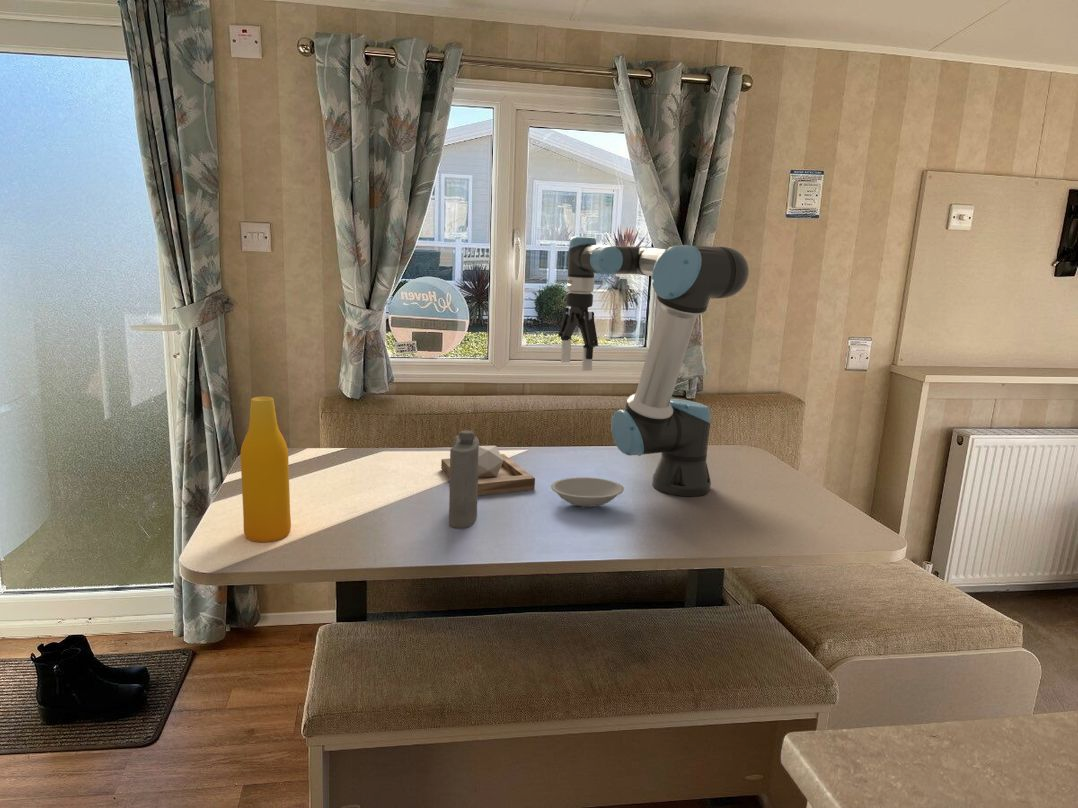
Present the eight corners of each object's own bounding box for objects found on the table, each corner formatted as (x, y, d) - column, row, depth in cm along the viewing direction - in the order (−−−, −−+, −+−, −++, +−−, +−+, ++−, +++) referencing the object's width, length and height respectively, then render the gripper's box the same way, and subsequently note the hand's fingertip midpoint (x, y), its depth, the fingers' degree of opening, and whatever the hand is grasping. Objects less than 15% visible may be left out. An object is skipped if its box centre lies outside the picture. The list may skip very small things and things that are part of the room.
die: (493, 485, 190) (512, 452, 192) (464, 468, 189) (483, 435, 191) (489, 486, 198) (507, 455, 200) (461, 469, 197) (480, 438, 199)
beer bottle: (276, 545, 149) (271, 405, 143) (234, 540, 151) (227, 401, 144) (299, 528, 158) (295, 395, 152) (259, 523, 160) (253, 392, 153)
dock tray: (534, 489, 189) (535, 478, 188) (467, 496, 182) (467, 484, 181) (502, 464, 209) (503, 453, 208) (441, 469, 201) (441, 459, 201)
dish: (613, 495, 187) (615, 476, 186) (629, 516, 173) (631, 496, 172) (545, 496, 184) (546, 477, 183) (555, 518, 170) (557, 497, 169)
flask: (474, 529, 162) (476, 441, 157) (447, 528, 162) (449, 440, 157) (478, 505, 176) (481, 423, 172) (454, 504, 176) (456, 422, 172)
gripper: (549, 288, 219) (546, 359, 224) (589, 296, 197) (584, 374, 202) (572, 288, 223) (568, 358, 227) (613, 296, 200) (608, 373, 205)
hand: (575, 366), depth 215 cm, fingers open, 13 cm apart
